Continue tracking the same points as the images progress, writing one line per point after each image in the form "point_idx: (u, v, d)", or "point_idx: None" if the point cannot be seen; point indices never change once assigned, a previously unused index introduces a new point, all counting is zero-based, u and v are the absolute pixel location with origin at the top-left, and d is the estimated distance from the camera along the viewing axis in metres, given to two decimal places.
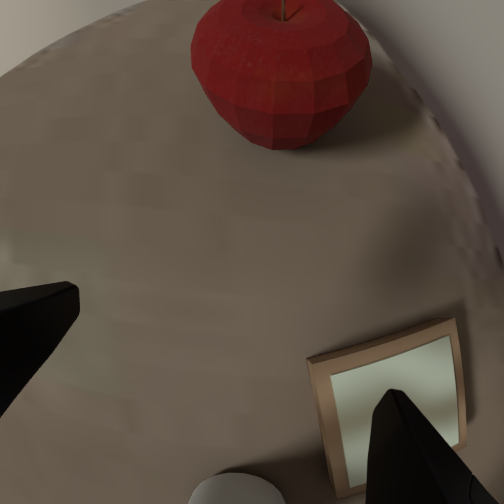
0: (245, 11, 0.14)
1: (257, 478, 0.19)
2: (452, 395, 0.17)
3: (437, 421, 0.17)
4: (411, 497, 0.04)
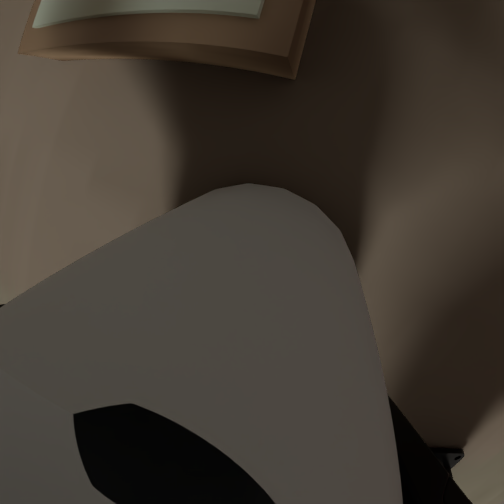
0: None
1: None
2: None
3: None
4: None
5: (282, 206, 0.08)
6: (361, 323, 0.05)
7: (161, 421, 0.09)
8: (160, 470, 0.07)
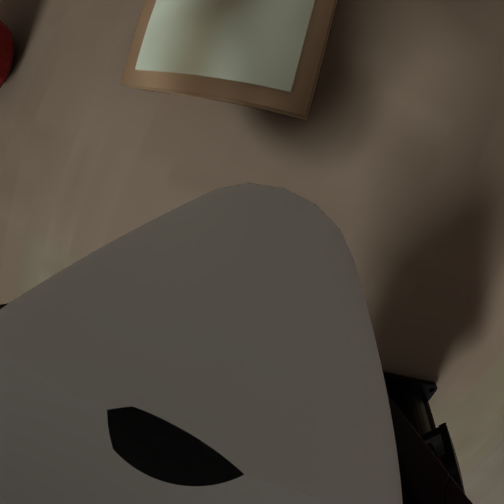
0: None
1: None
2: None
3: None
4: None
5: (283, 205, 0.08)
6: (360, 319, 0.05)
7: None
8: (162, 466, 0.07)
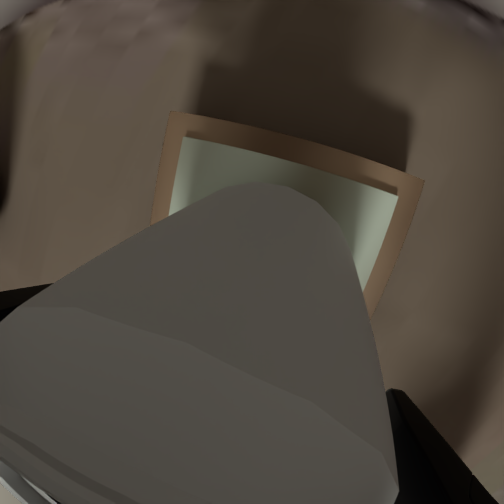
0: None
1: None
2: (289, 171, 0.12)
3: None
4: (411, 497, 0.04)
5: (287, 202, 0.09)
6: (355, 297, 0.06)
7: None
8: None
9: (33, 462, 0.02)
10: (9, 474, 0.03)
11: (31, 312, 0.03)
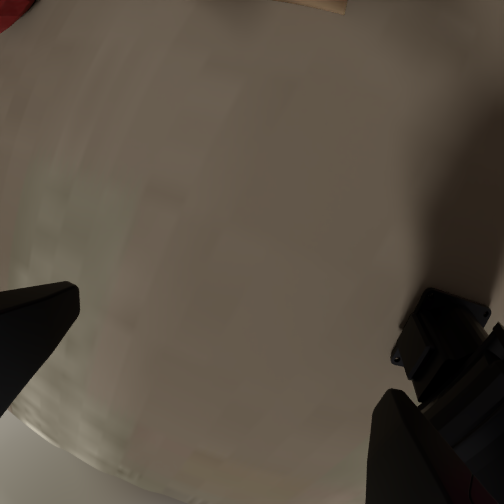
0: None
1: None
2: None
3: None
4: (411, 497, 0.04)
5: None
6: None
7: None
8: None
9: None
10: None
11: None
